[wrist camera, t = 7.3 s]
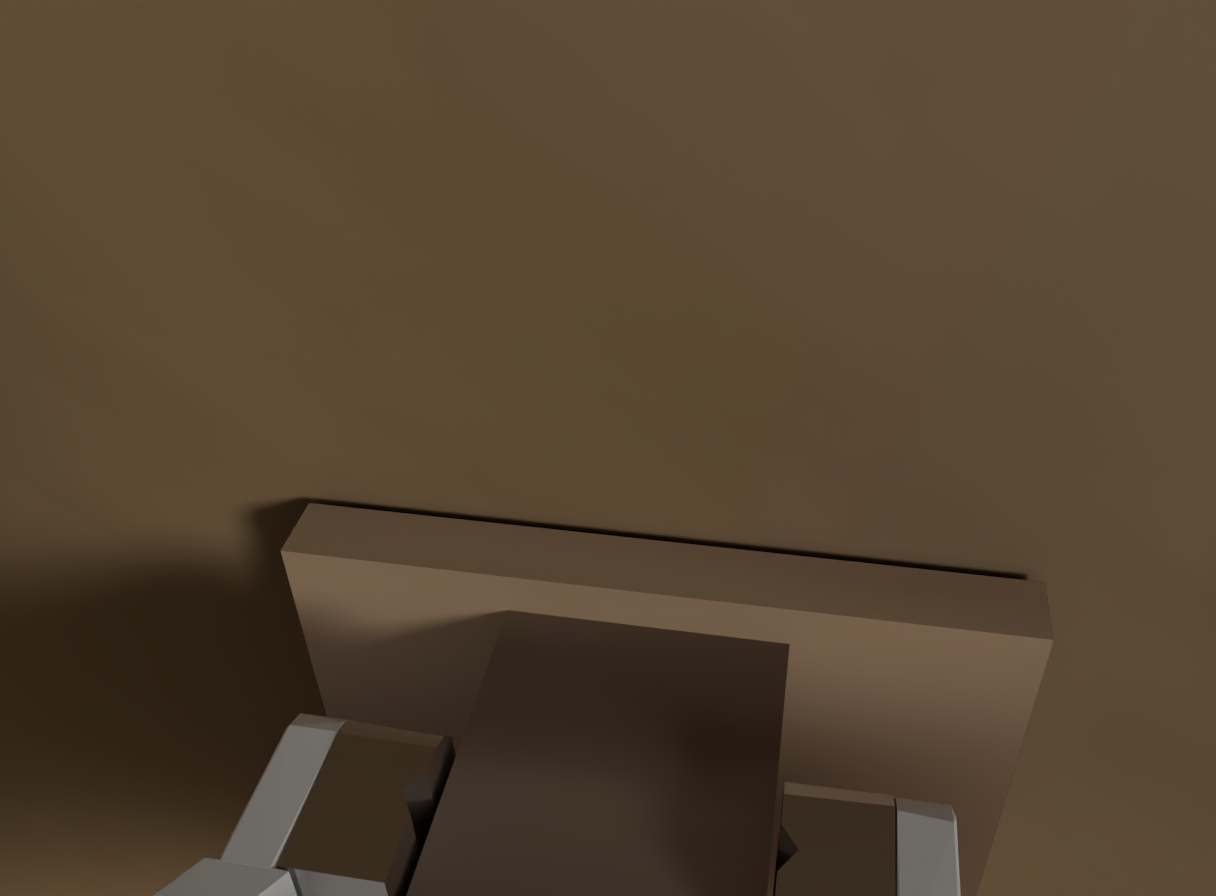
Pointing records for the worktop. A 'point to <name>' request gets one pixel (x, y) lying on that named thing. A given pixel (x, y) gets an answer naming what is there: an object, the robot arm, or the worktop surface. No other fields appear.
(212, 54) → the worktop surface
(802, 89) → the worktop surface
